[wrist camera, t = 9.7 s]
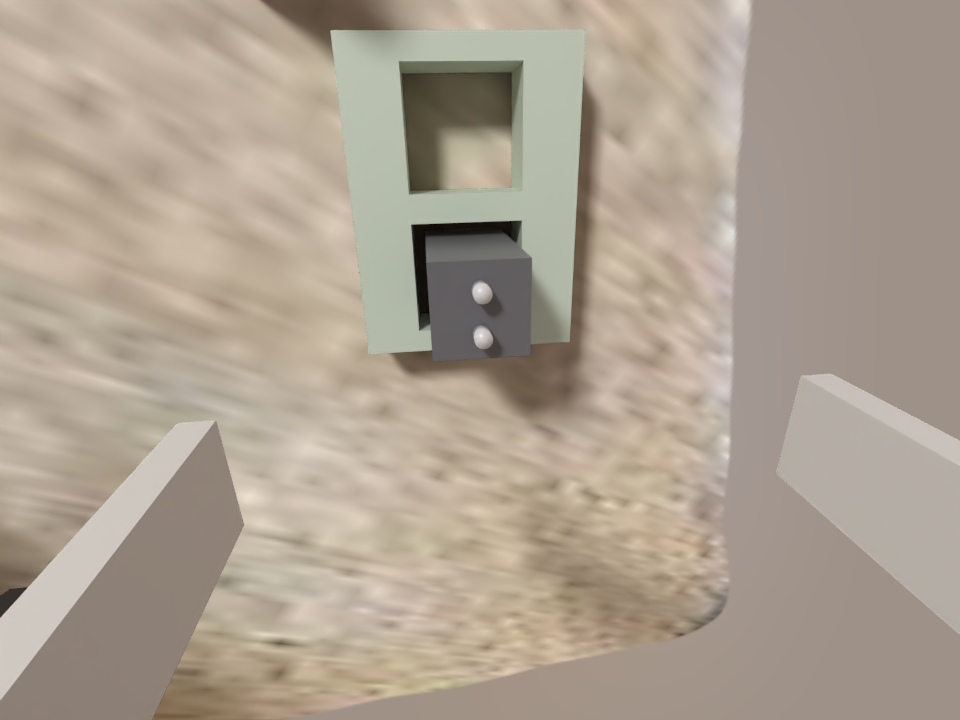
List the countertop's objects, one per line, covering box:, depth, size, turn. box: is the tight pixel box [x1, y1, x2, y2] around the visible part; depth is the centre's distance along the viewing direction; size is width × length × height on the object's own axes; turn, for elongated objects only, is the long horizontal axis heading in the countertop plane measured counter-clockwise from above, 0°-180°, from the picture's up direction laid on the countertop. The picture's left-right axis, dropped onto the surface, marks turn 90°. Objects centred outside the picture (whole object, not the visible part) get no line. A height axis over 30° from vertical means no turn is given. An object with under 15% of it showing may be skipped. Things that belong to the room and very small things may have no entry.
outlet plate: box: [330, 30, 586, 354], centre depth 27 cm, size 12×16×4 cm
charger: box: [425, 228, 532, 362], centre depth 25 cm, size 4×4×11 cm
